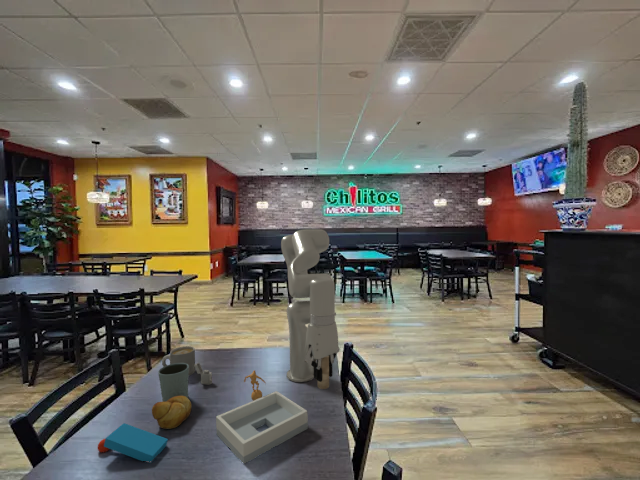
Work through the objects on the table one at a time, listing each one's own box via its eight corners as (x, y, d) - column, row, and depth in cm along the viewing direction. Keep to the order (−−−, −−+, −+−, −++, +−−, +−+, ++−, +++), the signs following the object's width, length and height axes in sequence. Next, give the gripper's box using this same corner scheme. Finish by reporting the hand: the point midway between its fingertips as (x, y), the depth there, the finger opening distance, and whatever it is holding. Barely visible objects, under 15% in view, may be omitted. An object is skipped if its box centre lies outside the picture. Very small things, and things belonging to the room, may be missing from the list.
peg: (323, 381, 99) (323, 350, 99) (331, 386, 97) (331, 354, 96) (315, 385, 97) (314, 354, 96) (323, 390, 94) (322, 357, 94)
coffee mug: (199, 367, 144) (198, 346, 143) (189, 377, 134) (188, 354, 134) (170, 367, 144) (169, 346, 144) (158, 377, 134) (157, 354, 134)
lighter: (212, 382, 129) (211, 363, 129) (209, 384, 127) (209, 365, 127) (197, 381, 131) (196, 362, 130) (194, 383, 129) (193, 363, 129)
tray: (276, 406, 111) (276, 391, 110) (307, 428, 98) (307, 411, 98) (216, 434, 96) (216, 416, 96) (243, 464, 83) (243, 443, 83)
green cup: (194, 399, 116) (193, 367, 116) (166, 411, 109) (164, 377, 108) (182, 390, 123) (181, 360, 123) (155, 401, 116) (153, 369, 115)
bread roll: (177, 407, 111) (176, 385, 111) (201, 411, 109) (200, 388, 108) (148, 429, 99) (147, 404, 99) (174, 434, 96) (173, 408, 96)
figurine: (269, 399, 116) (268, 366, 115) (263, 408, 110) (262, 374, 109) (248, 397, 117) (247, 365, 117) (241, 405, 111) (240, 372, 111)
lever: (162, 461, 92) (107, 440, 94) (168, 439, 91) (112, 418, 93) (146, 480, 85) (88, 457, 87) (152, 456, 84) (93, 433, 86)
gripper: (333, 311, 104) (333, 365, 105) (293, 322, 93) (294, 382, 94) (350, 315, 98) (350, 373, 99) (309, 328, 87) (310, 392, 88)
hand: (323, 377), depth 97 cm, fingers closed on peg, 3 cm apart
